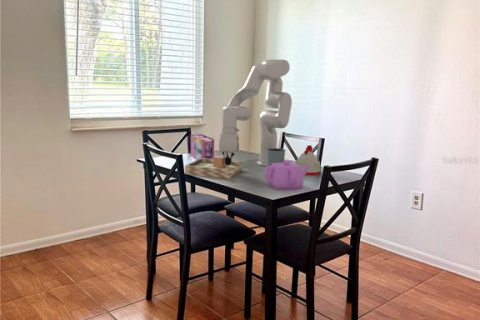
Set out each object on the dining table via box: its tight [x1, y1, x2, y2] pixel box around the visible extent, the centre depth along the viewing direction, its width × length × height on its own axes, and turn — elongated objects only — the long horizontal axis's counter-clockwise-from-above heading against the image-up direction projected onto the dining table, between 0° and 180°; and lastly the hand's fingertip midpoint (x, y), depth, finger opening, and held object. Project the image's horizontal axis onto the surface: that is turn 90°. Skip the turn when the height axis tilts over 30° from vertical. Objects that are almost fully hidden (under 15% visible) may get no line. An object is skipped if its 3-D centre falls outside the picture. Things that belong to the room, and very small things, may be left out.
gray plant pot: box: [267, 147, 286, 166], centre depth 231 cm, size 10×10×12 cm
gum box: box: [190, 133, 215, 160], centre depth 259 cm, size 24×8×14 cm, turn 24°
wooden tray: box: [184, 158, 243, 179], centre depth 224 cm, size 24×22×4 cm
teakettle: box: [263, 159, 309, 191], centre depth 199 cm, size 17×17×12 cm
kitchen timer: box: [294, 145, 321, 177], centre depth 230 cm, size 14×14×15 cm
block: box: [213, 155, 225, 167], centre depth 227 cm, size 5×5×5 cm
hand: (228, 164), depth 226 cm, fingers closed
